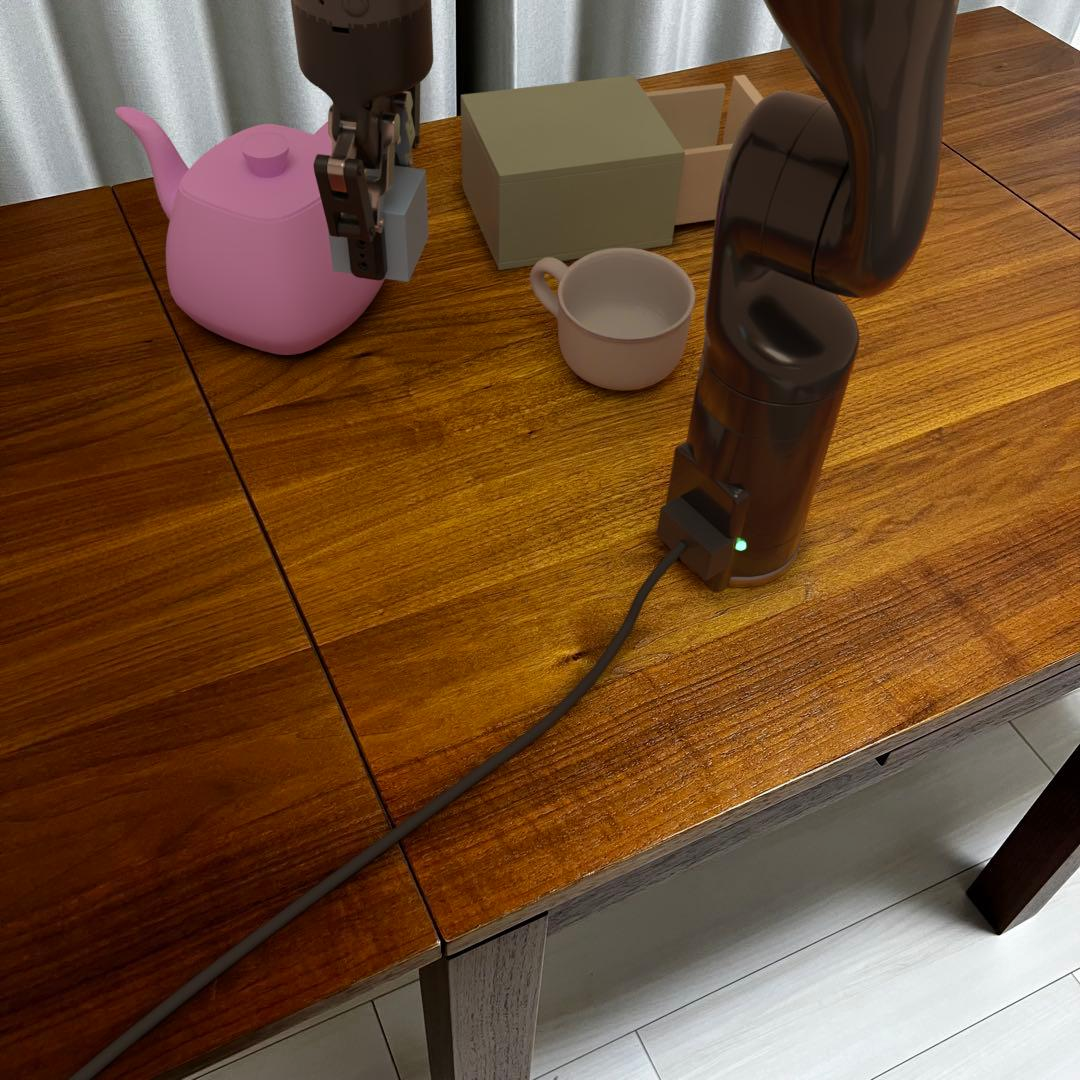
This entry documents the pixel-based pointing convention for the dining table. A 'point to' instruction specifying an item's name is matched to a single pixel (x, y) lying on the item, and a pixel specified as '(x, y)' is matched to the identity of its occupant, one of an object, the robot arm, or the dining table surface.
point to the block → (396, 225)
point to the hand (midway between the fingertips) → (382, 248)
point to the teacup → (618, 315)
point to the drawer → (703, 139)
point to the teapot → (252, 237)
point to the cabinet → (569, 170)
